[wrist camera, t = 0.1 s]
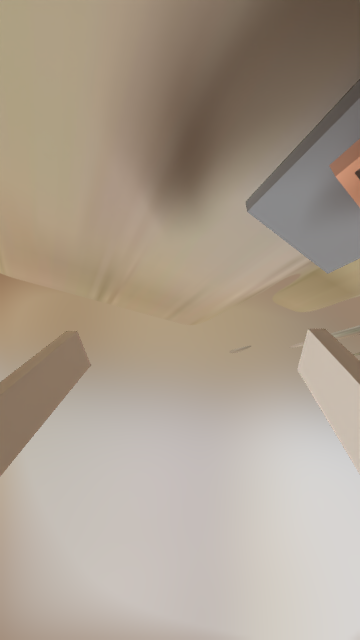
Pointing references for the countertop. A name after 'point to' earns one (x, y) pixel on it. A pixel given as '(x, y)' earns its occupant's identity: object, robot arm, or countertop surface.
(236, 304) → the countertop surface
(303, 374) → the robot arm
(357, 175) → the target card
